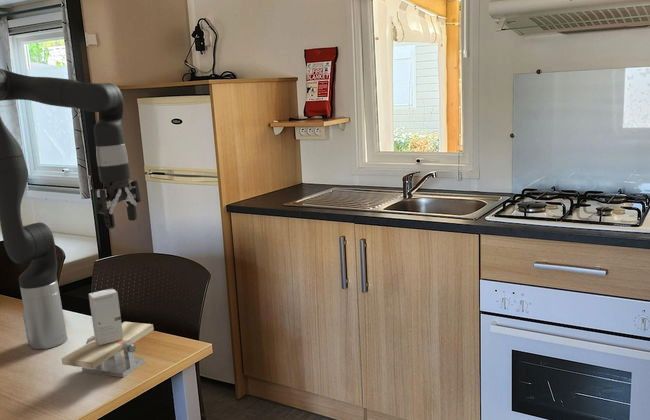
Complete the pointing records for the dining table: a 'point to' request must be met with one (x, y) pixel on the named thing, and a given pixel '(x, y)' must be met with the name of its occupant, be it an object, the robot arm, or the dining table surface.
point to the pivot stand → (118, 362)
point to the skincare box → (106, 316)
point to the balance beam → (105, 347)
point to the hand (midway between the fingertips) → (122, 224)
